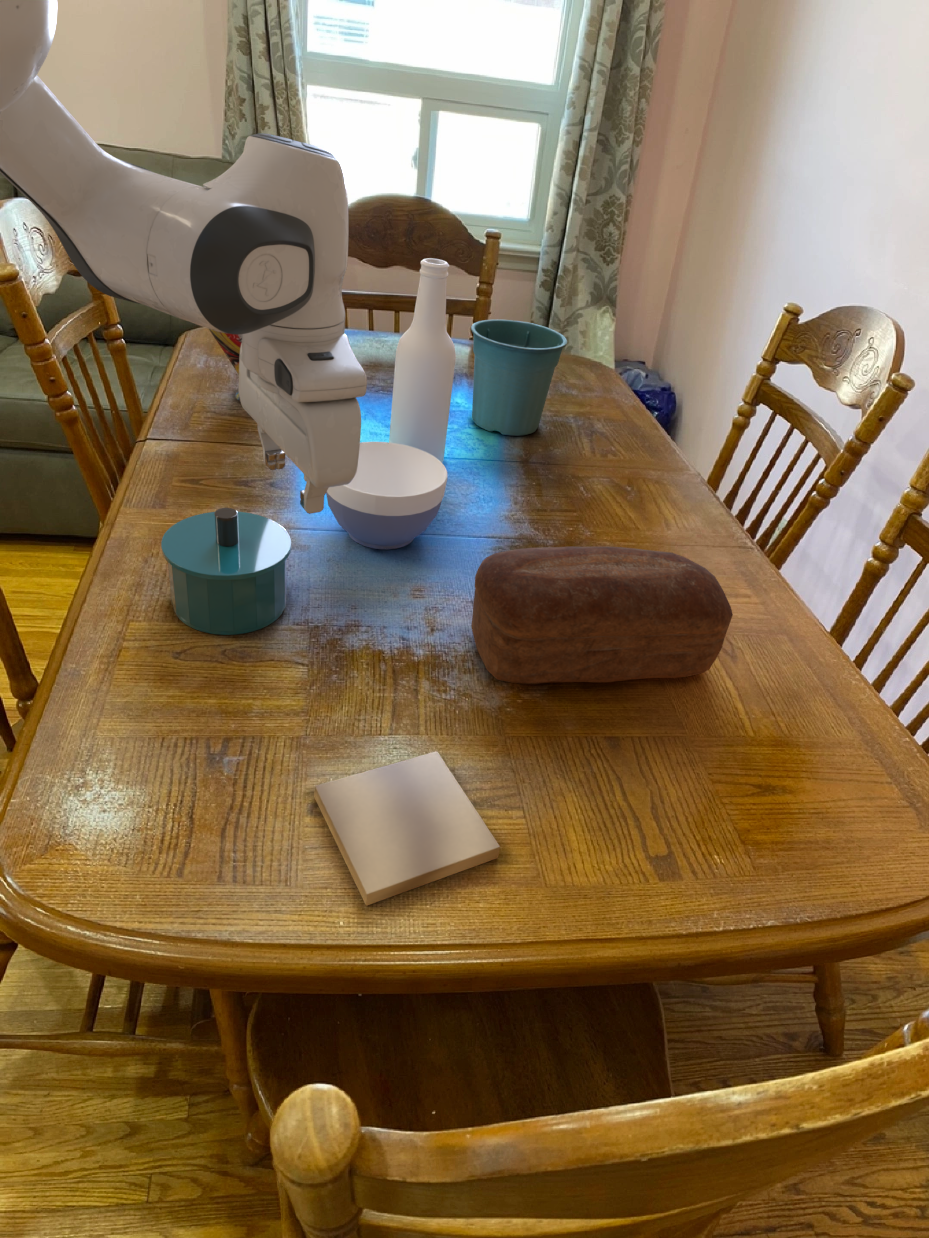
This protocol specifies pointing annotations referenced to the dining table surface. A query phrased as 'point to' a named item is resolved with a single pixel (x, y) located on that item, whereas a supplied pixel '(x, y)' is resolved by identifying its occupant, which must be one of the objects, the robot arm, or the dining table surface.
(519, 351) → the flower pot
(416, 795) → the board
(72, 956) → the dining table surface
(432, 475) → the bowl
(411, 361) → the alcohol
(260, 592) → the pot
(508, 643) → the bread
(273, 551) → the pot lid
